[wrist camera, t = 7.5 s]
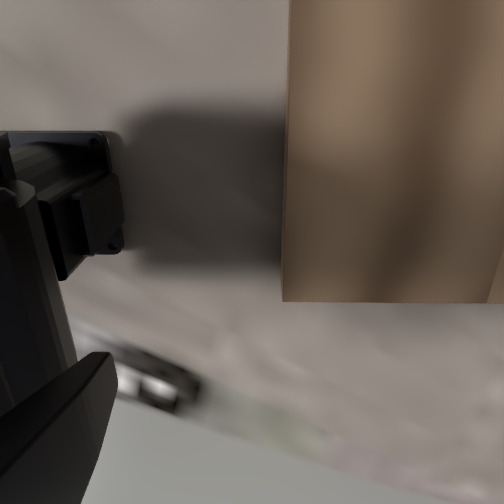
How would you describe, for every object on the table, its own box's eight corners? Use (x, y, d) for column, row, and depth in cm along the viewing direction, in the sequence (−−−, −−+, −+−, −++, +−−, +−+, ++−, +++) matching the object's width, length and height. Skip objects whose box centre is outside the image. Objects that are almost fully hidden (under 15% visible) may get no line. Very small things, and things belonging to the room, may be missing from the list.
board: (280, 278, 22) (282, 301, 20) (291, -70, 16) (296, -94, 13) (596, 280, 22) (635, 304, 20) (752, -76, 15) (838, -101, 13)
